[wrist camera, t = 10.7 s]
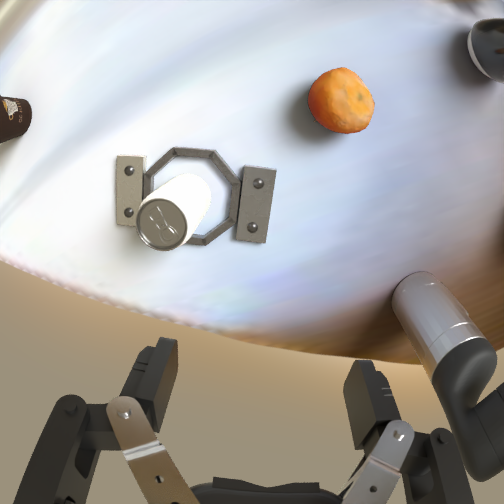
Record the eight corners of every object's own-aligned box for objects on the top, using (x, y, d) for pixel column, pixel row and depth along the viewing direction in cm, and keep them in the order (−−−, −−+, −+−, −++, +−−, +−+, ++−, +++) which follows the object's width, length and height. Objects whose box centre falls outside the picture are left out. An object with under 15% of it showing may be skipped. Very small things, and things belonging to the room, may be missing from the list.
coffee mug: (36, 139, 37) (-6, 148, 28) (5, 145, 38) (-35, 156, 28) (38, 70, 33) (-4, 68, 23) (6, 82, 33) (-34, 83, 24)
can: (181, 227, 43) (154, 264, 32) (157, 188, 40) (120, 214, 30) (220, 205, 41) (204, 237, 30) (195, 164, 39) (168, 181, 28)
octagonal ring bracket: (277, 157, 38) (278, 158, 37) (263, 249, 44) (263, 254, 42) (121, 144, 38) (116, 145, 37) (120, 231, 43) (116, 234, 42)
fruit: (282, 83, 33) (325, 65, 26) (328, 75, 36) (371, 62, 29) (302, 143, 36) (347, 138, 29) (345, 130, 39) (389, 125, 32)
